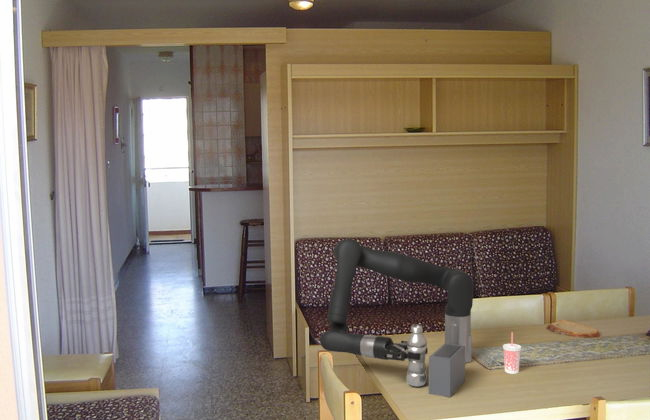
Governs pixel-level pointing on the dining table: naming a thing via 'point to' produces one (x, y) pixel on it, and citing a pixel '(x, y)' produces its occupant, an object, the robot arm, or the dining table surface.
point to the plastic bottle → (416, 367)
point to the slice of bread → (573, 329)
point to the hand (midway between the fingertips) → (423, 353)
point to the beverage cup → (511, 356)
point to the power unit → (446, 369)
